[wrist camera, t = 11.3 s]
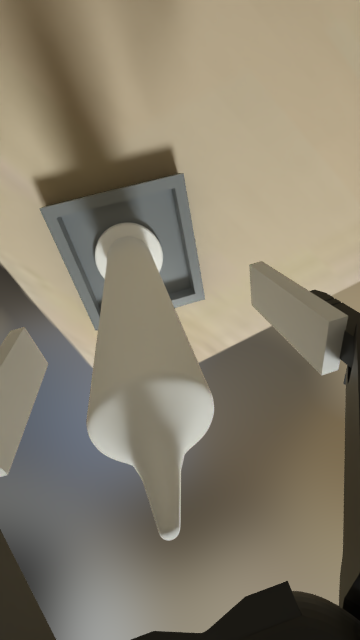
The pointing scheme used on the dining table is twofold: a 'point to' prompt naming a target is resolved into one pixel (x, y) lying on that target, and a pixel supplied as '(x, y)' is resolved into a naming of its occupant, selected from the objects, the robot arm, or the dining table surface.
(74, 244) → the tray
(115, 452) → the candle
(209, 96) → the dining table surface
